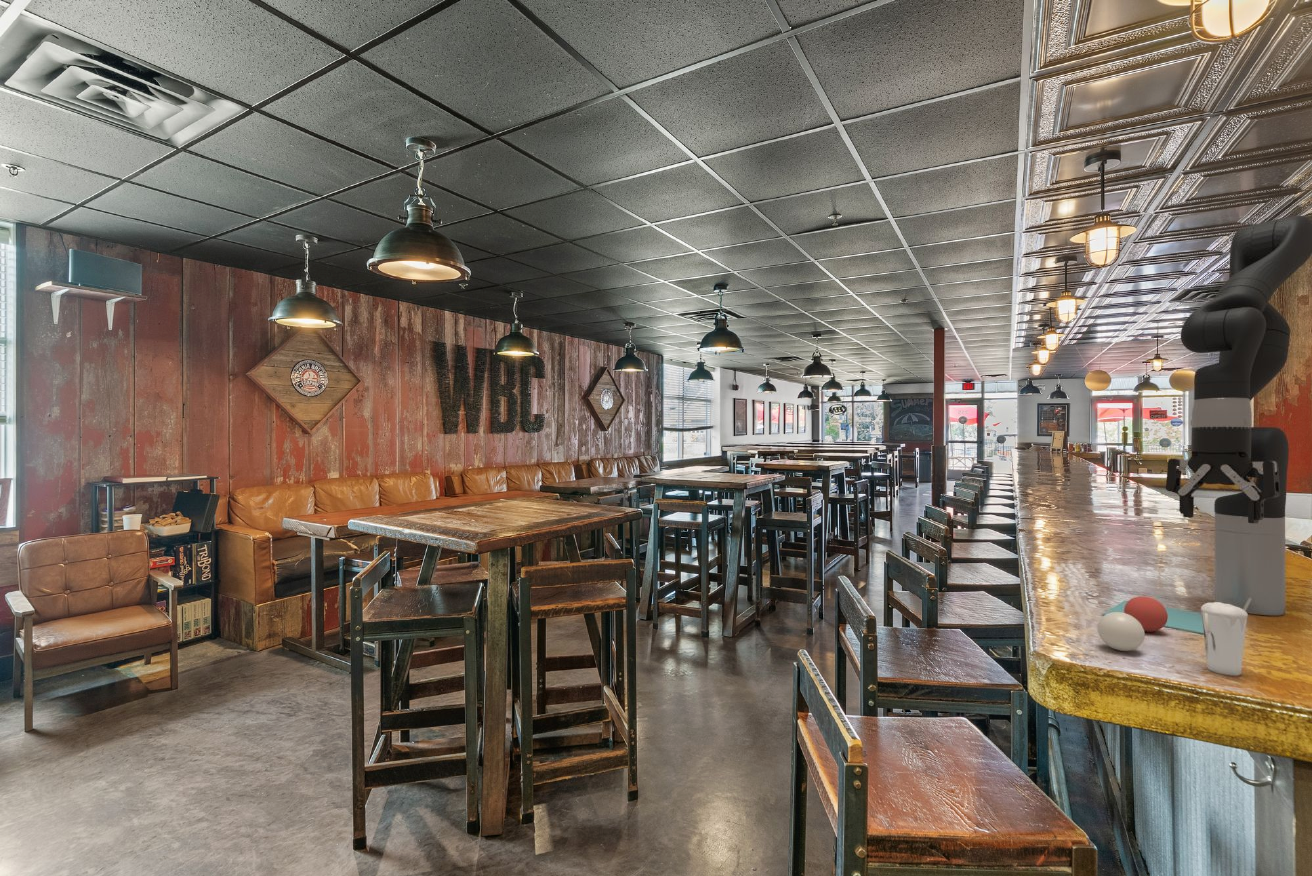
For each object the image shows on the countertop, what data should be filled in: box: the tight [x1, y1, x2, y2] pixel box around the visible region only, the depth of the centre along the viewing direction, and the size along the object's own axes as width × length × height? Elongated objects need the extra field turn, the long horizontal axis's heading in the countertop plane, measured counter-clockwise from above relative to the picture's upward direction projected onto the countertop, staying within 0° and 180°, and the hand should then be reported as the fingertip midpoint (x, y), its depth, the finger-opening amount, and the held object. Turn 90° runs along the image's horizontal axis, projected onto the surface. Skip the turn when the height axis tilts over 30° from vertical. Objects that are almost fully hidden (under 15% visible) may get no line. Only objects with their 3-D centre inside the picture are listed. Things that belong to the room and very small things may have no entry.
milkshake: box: [1200, 598, 1252, 677], centre depth 80 cm, size 5×5×10 cm
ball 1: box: [1097, 612, 1146, 652], centre depth 88 cm, size 6×6×6 cm
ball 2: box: [1124, 595, 1168, 632], centre depth 97 cm, size 6×6×6 cm
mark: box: [1102, 600, 1204, 635], centre depth 105 cm, size 14×14×1 cm
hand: (1219, 520), depth 103 cm, fingers open, 8 cm apart
